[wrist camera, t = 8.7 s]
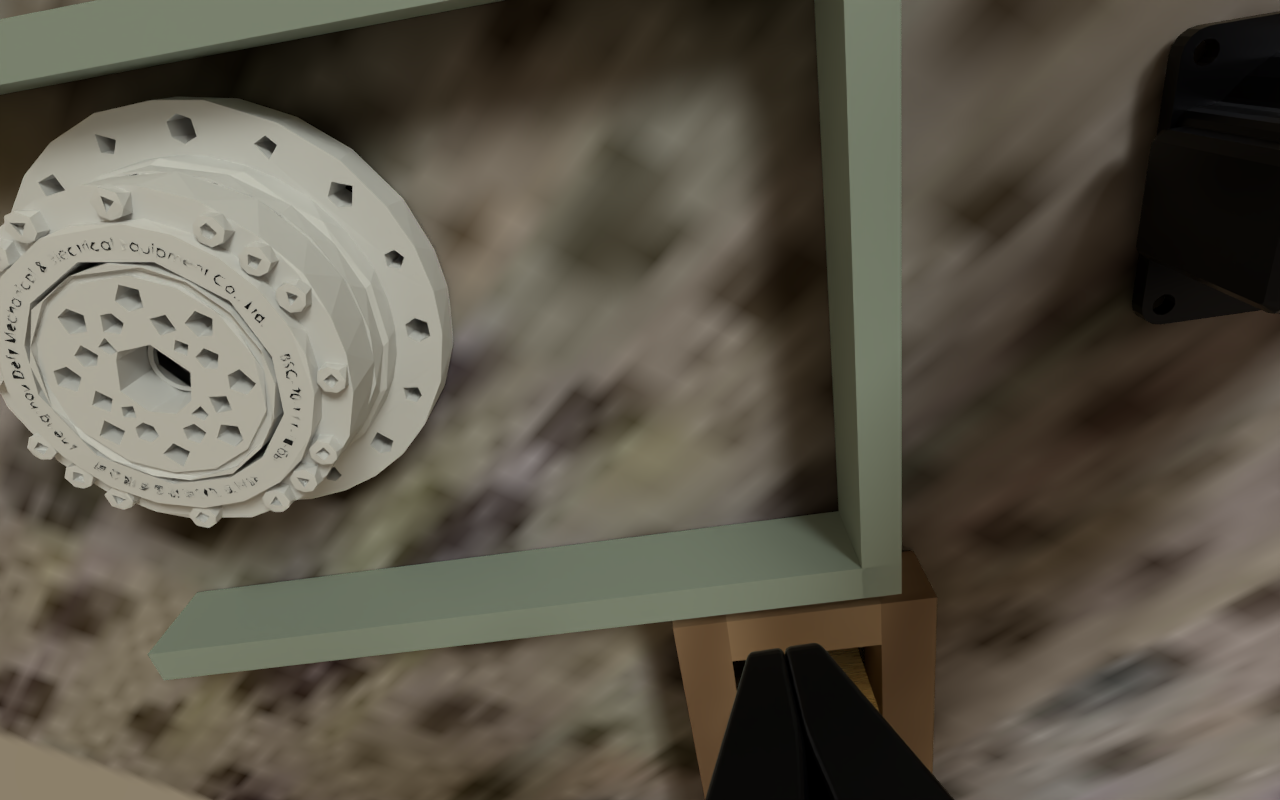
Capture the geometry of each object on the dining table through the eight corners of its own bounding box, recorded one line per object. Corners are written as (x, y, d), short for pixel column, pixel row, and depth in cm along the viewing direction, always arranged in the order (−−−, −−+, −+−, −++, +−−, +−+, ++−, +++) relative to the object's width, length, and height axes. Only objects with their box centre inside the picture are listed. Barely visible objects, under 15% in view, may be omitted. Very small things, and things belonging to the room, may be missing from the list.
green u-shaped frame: (860, -127, 14) (900, -158, 12) (874, 534, 21) (901, 593, 19) (-101, 59, 16) (-225, 63, 13) (211, 617, 23) (163, 680, 21)
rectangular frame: (913, 550, 21) (937, 597, 20) (910, 817, 27) (929, 873, 25) (670, 580, 22) (672, 628, 20) (717, 835, 28) (722, 891, 26)
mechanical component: (-20, 301, 18) (310, 532, 22) (-201, 374, 14) (235, 643, 18) (186, -12, 15) (536, 312, 18) (27, -28, 11) (508, 387, 15)
